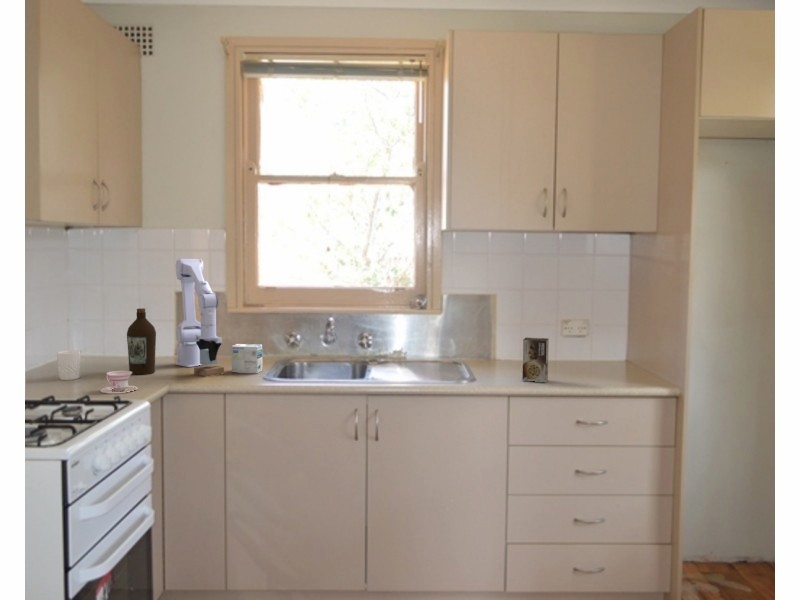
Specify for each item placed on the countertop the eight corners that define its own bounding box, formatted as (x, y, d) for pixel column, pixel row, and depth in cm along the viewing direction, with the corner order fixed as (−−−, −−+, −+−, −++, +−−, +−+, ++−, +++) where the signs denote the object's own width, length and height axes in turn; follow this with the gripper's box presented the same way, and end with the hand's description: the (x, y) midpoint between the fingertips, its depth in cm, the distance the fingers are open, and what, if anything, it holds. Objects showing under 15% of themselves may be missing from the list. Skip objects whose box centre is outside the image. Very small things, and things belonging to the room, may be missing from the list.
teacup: (144, 387, 246) (144, 370, 246) (125, 395, 235) (125, 377, 234) (113, 386, 249) (113, 369, 248) (93, 393, 237) (92, 375, 236)
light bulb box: (263, 370, 280) (262, 344, 280) (257, 373, 274) (257, 346, 273) (237, 369, 282) (236, 343, 281) (231, 373, 275) (231, 345, 274)
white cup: (76, 375, 266) (75, 349, 265) (84, 378, 261) (83, 352, 260) (54, 378, 261) (53, 351, 260) (62, 381, 255) (61, 354, 254)
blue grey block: (199, 364, 271) (199, 349, 271) (209, 362, 275) (209, 348, 274) (206, 365, 268) (206, 351, 268) (216, 363, 272) (216, 349, 271)
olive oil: (135, 369, 279) (133, 307, 277) (161, 370, 278) (159, 307, 276) (122, 374, 268) (121, 309, 266) (149, 375, 268) (148, 310, 266)
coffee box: (548, 380, 268) (549, 338, 267) (545, 383, 262) (547, 340, 261) (524, 378, 271) (525, 336, 270) (521, 381, 265) (522, 339, 264)
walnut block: (194, 375, 272) (193, 367, 271) (211, 372, 278) (211, 364, 278) (206, 377, 267) (206, 370, 266) (223, 374, 273) (223, 367, 273)
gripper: (188, 324, 272) (189, 358, 273) (210, 327, 263) (211, 363, 264) (204, 322, 277) (204, 356, 279) (226, 325, 268) (226, 360, 269)
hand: (208, 359), depth 272 cm, fingers closed on blue grey block, 4 cm apart
